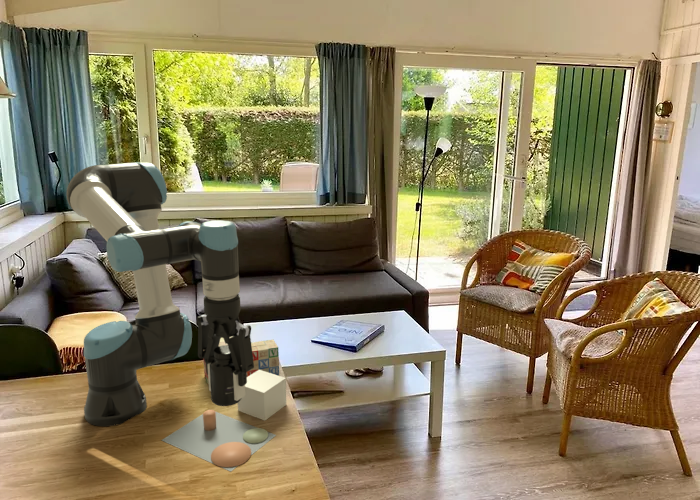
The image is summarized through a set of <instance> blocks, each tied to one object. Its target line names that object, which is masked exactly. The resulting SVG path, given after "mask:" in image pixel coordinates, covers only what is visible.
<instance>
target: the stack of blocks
mask: <svg viewBox="0 0 700 500" xmlns="http://www.w3.org/2000/svg"><path fill="white" fill-rule="evenodd" d="M233 336H234V335H233ZM233 336H231V337H233ZM231 337H229V338H231ZM223 345H228V344H226V343H225V341H224V338H223V337H221V339H220V343H219V346H223ZM251 346H252V354H253V362H254V368H253V369H251V370H249V371H248V372H246V373H247V377H248V376H250V375H251V374H253V373H255V372H256V371H258V370H262V371H265V372H268V373H272V374H275V375H278V376H280V356H279V355H280V354H279V353H280V352H279V346H278V345H277V342H276V341H275V340H274V339H267V340H261V341H260V340H259V341H253V342H252V341H251ZM203 351H204V350H203ZM202 360H203V371H204V372H203V374H204V378H205V380H206V384H209V380H208V375H207V373H206V363H205V361H204V359H203V358H202ZM241 366H242V365H241Z"/></svg>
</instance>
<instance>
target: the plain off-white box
mask: <svg viewBox="0 0 700 500" xmlns="http://www.w3.org/2000/svg"><path fill="white" fill-rule="evenodd" d="M285 406H287V378H286V377H284V376H281V375H275V374H272V373H268V372H265V371H262V370H258V371H256V372H255V373H253V374H251V375H250V376H248V377H247V383H246V384H245V396H244V397H242V399H241V400H240V401H239V402H238V403H237V411H239V412H241V413H244V414H245V415H246V414H247V415H249V416H251V417H254V418H256V419H260V420H262V421H267V420H268V419H269V418H270V417H272V416H273V415H275V414H276V413H277V412H279V411H280V410H281V409H283V408H284V407H285Z"/></svg>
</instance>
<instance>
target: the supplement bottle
mask: <svg viewBox="0 0 700 500" xmlns="http://www.w3.org/2000/svg"><path fill="white" fill-rule="evenodd" d="M213 358H214V360H213V361H212V362H211V364H210V388H211V391H210V399H211V400H210V401H211V402H212V404H214V405H215V406H218V407H229V406H235V405H237V404H238V402H239V401H240V400H241V399H242V398H241V399H239V400H238V401H236V400H234V381H233V372H235V371H236V369H235V366H234V363H233V360H232V357H231V354H230V351H229V348H228V345H223V346H219V347H217V348H215V349H214V356H213Z"/></svg>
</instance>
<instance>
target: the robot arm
mask: <svg viewBox="0 0 700 500" xmlns="http://www.w3.org/2000/svg"><path fill="white" fill-rule="evenodd" d="M166 184H167V183H166V181H165V178H164V176H163V174H162V171H160V169H159V168H158V167H157V166H156V165H155V164H153V163H151V162H138V161H136V162H135V161H134V162H124V163H111V164H96V165H91V166H87V167H85V168H82V169H81V170H80V171H78V172H77V173H76V174H74V176H73V177H72V178H71V179H70V182H69V183H68V185H67V188H66V200H67V203H68V205H69V207H70V208H71V209H72V210H73V212H75V213H76V215H78V216H80V217H82V218H86V219H87V220H88V222H89V223H90V224H91V226H93V227H94V229H95V230H96V231H97V232H98V234H100V236H101V237H102V238H103V239H104V240H105V241H106V255H107V256H106V257H107V259H108V262H109V264H110V267H111V269H112V270H114V271H115V272H116V273H117V272H119V273H121V272H123V273H124V272H130V271H131V272H132V275H133V280H134V284H135V290H136V297H137V301H138V308H139V311H138V312H137V313H136V315H135V316H134V321H135V324H132V323H130V322H129V321H125V320H118V321H115V320H114V321H109V322H106V323H102V324H100V325H98V326H96V327H94V328H92V329H91V330H90V331H89V332H88V333H87V334H86V335H85V336H84V338H83V357H84V360H85V361H84V362H85V368H86V376H87V377H86V378H87V384H88V391H87V394H86V400H85V404H84V407H83V412H84V418H85V421H86V422H87V423H88V424H90V425H93V426H97V427H113V426H118V425H122V424H124V423H126V422H128V421H130V420H131V419H133V418H135V417H136V416H138V415H139V414H141V413H143V412H145V411H146V409H147V404H148V403H147V398H146V397H147V396H146V395H145V392H144V390H143V388H142V386H141V385H140V382H139V380H138V377H137V370H141V369H144V368H147V367H150V366H155V365H157V364H160V363H164V362H168V361H174V360H175V359H177V358H180V357H183V356H185V355H186V354H187V353H188V352H189V350H190V348H191V346H192V338H193V331H192V324H191V322H190V319H189V316H188V315H187V314H186V313H182V312H181V310H180V307H178V306H177V305H176V304H174V303H173V298H172V297H173V296H172V293H171V287H170V281H169V275H168V270H167V265H170V264H176V263H180V262H186V261H187V262H188V261H192V260H195V261H197V262H200V264H201V266H200V267H201V277H202V278H201V279H202V294H203V295H204V297H203V312H204V314H201V315H199V316H197V317H196V323H197V328H198V330H197V332H198V333H197V357H198V358H199V359H202V360H203V359H204V361H205V363H206V373H207V375H208V380H209V383H208V391H209V392H211V388H210V364H211V362H212V361H213V360H214V358H213V356H214V349H215V348H217V347H219V343H220V339H221V338H224V341H225V343H226V344H228V348H229V351H230V354H231V357H232V360H233V363H234V366H235V369H236V371H235V372H233V381H234V400H236V401H238V400H239V399H241V398H242V397H244V396H245V384H246V383H247V373H246V372H248V371H249V370H251V369H253V368H254V362H253V354H252V346H251V343H252V339H251V334H252V333H251V332H252V326H251V325H250V324H247V325H244V324H242V323H241V320H240V317H239V315H240V312H241V295H240V294H239V293H240V291H241V288H240V273H239V272H240V271H239V266H240V265H239V238H238V233H237V226H236V224H235V223H234V222H232V221H229V220H222V219H221V220H220V219H219V220H209V221H205V222H202V223H201V222H197V221H191V220H190V221H184V222H181V223H180V224H179V225H177V226H174V227H166V228H160V225H159V220H158V216H159V214H160V213H161V212H162V210H163V208H162V205H164V204H165V203H166V201H167V198H168V196H167V194H168V190H167V189H168V188H167V185H166ZM231 336H233V337H231ZM229 337H231V338H229ZM203 350H204V351H203ZM241 365H242V366H241Z"/></svg>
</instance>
